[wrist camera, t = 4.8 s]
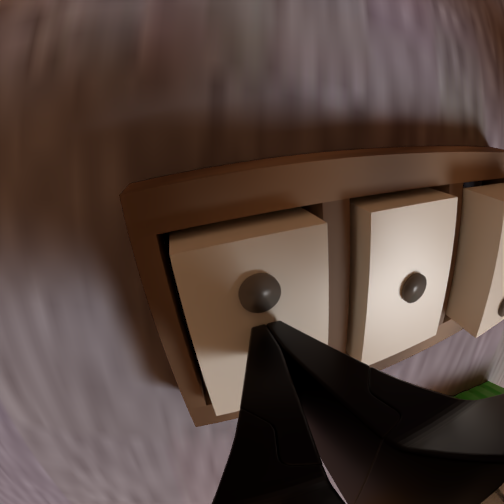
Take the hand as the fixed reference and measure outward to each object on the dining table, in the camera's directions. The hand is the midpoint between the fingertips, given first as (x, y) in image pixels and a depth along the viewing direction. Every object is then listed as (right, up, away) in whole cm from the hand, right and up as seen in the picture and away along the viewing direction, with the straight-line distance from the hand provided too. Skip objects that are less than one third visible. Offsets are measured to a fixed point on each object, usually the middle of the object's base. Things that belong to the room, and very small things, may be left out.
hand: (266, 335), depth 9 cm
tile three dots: (+10, +3, +3) cm, 11 cm away
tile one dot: (+5, +2, +3) cm, 6 cm away
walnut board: (+5, +2, +3) cm, 6 cm away
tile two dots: (-1, +1, +2) cm, 2 cm away
